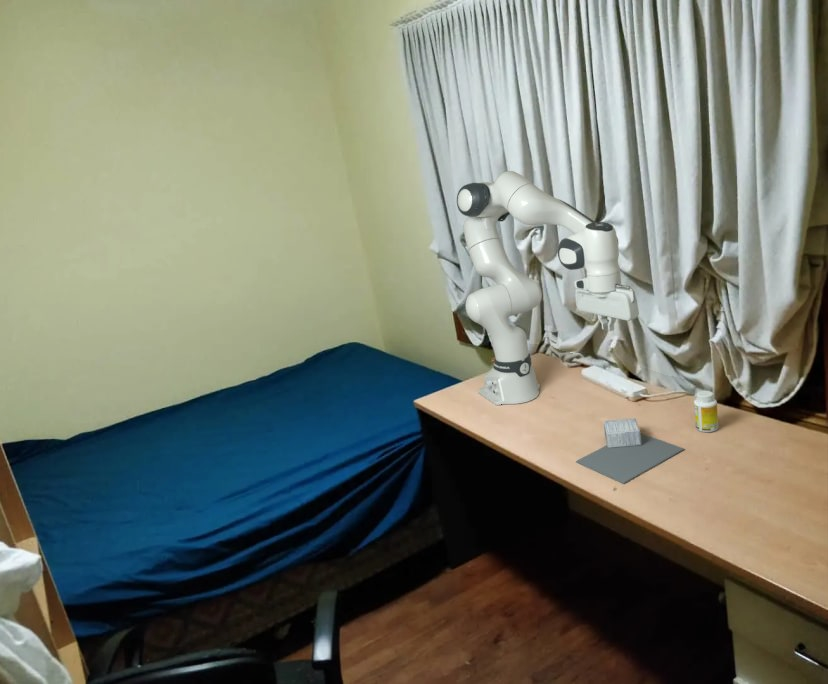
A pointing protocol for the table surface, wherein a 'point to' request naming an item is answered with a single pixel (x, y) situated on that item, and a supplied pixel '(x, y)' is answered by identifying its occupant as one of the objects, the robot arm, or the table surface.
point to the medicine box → (622, 433)
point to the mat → (630, 458)
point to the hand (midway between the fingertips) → (608, 329)
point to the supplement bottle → (706, 412)
